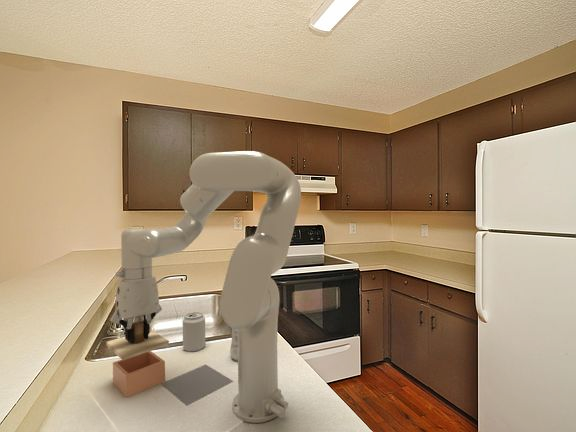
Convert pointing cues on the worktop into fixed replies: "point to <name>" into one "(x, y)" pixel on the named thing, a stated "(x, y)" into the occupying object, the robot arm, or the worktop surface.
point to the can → (194, 331)
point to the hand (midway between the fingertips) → (137, 338)
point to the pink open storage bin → (138, 373)
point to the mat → (196, 384)
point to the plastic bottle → (234, 345)
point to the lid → (136, 342)
